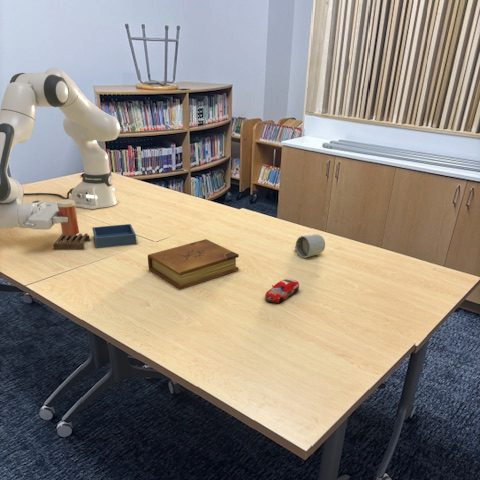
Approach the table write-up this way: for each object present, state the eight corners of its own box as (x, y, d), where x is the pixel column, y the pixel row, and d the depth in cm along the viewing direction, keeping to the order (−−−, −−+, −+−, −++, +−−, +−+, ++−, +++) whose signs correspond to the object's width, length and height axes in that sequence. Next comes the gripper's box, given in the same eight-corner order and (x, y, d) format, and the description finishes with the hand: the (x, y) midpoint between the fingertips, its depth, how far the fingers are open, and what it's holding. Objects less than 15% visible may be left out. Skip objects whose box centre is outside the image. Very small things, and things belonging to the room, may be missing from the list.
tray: (96, 248, 173) (95, 238, 171) (93, 236, 183) (92, 227, 181) (136, 244, 177) (135, 234, 175) (131, 233, 187) (130, 223, 185)
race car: (276, 306, 136) (277, 293, 134) (261, 300, 139) (262, 288, 137) (302, 290, 145) (303, 278, 143) (287, 285, 148) (288, 273, 146)
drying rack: (54, 249, 171) (52, 242, 170) (61, 239, 180) (60, 233, 179) (83, 249, 172) (82, 242, 170) (90, 239, 180) (89, 233, 179)
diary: (205, 253, 170) (204, 238, 167) (238, 270, 158) (238, 254, 155) (148, 269, 157) (147, 253, 154) (180, 289, 145) (179, 271, 142)
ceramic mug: (325, 255, 170) (327, 235, 166) (308, 260, 166) (310, 239, 162) (305, 247, 178) (307, 227, 174) (288, 251, 173) (290, 231, 170)
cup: (60, 235, 171) (54, 203, 165) (64, 230, 176) (59, 199, 170) (77, 235, 171) (72, 204, 165) (81, 230, 176) (76, 199, 171)
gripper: (18, 216, 159) (60, 216, 160) (38, 198, 177) (76, 199, 178) (22, 234, 162) (64, 234, 163) (41, 215, 180) (78, 215, 181)
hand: (70, 215), depth 171 cm, fingers closed on cup, 6 cm apart
